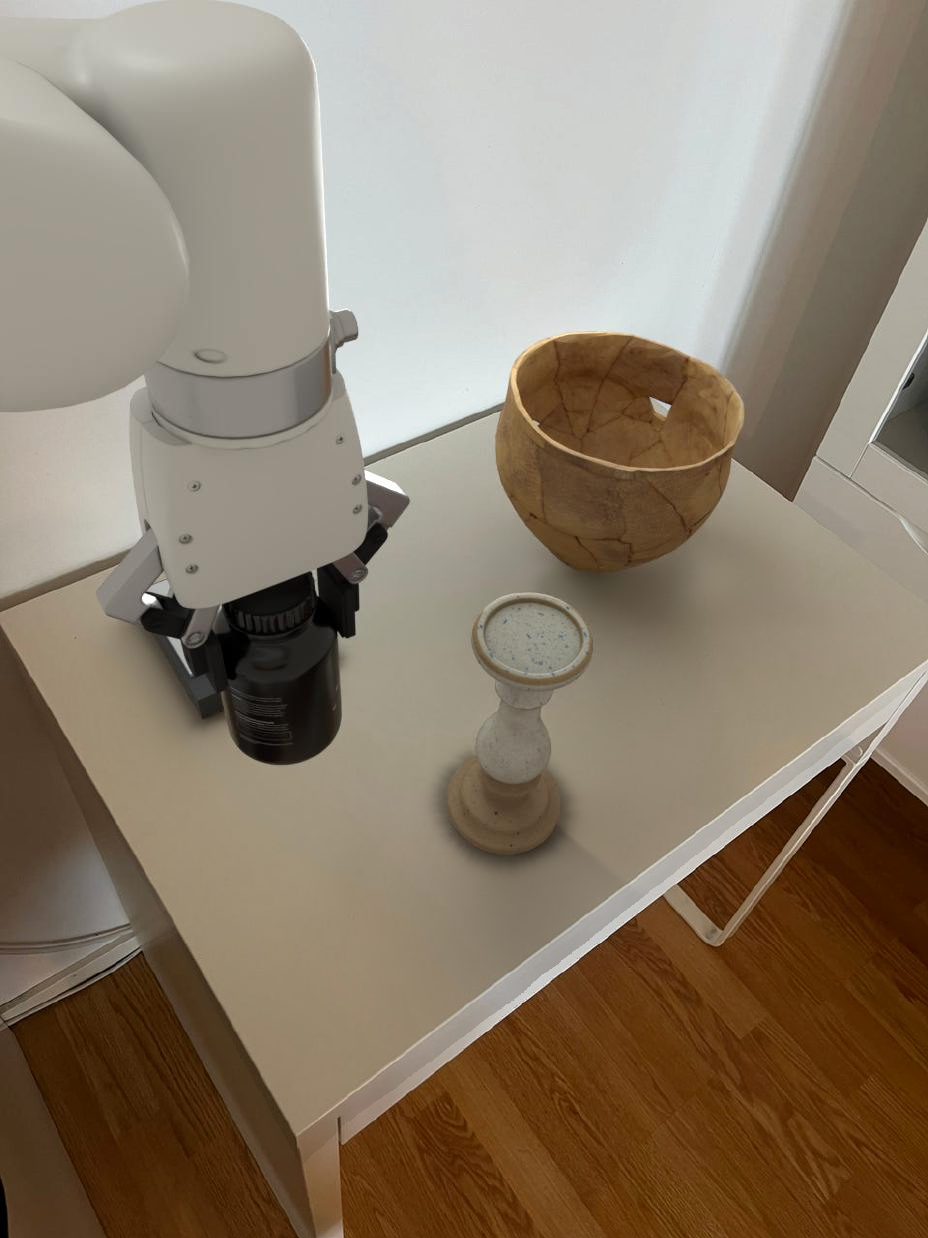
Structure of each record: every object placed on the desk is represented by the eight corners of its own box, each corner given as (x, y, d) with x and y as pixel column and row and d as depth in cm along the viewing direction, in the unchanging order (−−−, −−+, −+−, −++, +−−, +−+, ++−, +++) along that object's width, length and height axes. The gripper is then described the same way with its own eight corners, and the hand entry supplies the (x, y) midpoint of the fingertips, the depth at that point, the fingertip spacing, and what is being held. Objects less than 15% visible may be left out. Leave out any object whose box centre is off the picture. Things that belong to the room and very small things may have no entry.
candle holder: (503, 738, 76) (531, 563, 61) (582, 809, 72) (633, 640, 57) (423, 800, 72) (432, 627, 57) (502, 879, 68) (535, 716, 53)
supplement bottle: (366, 724, 57) (362, 588, 48) (275, 791, 53) (254, 657, 44) (295, 660, 60) (279, 520, 51) (205, 719, 56) (171, 580, 47)
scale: (202, 719, 76) (196, 698, 74) (138, 610, 83) (131, 588, 81) (332, 660, 81) (330, 638, 79) (260, 562, 88) (257, 540, 86)
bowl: (478, 491, 97) (494, 318, 82) (668, 495, 99) (718, 326, 84) (489, 643, 83) (511, 467, 68) (711, 645, 85) (779, 473, 70)
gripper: (379, 277, 44) (380, 552, 57) (-8, 374, 36) (96, 662, 50) (466, 357, 39) (445, 632, 53) (51, 483, 32) (147, 764, 46)
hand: (276, 645), depth 51 cm, fingers closed on supplement bottle, 6 cm apart
